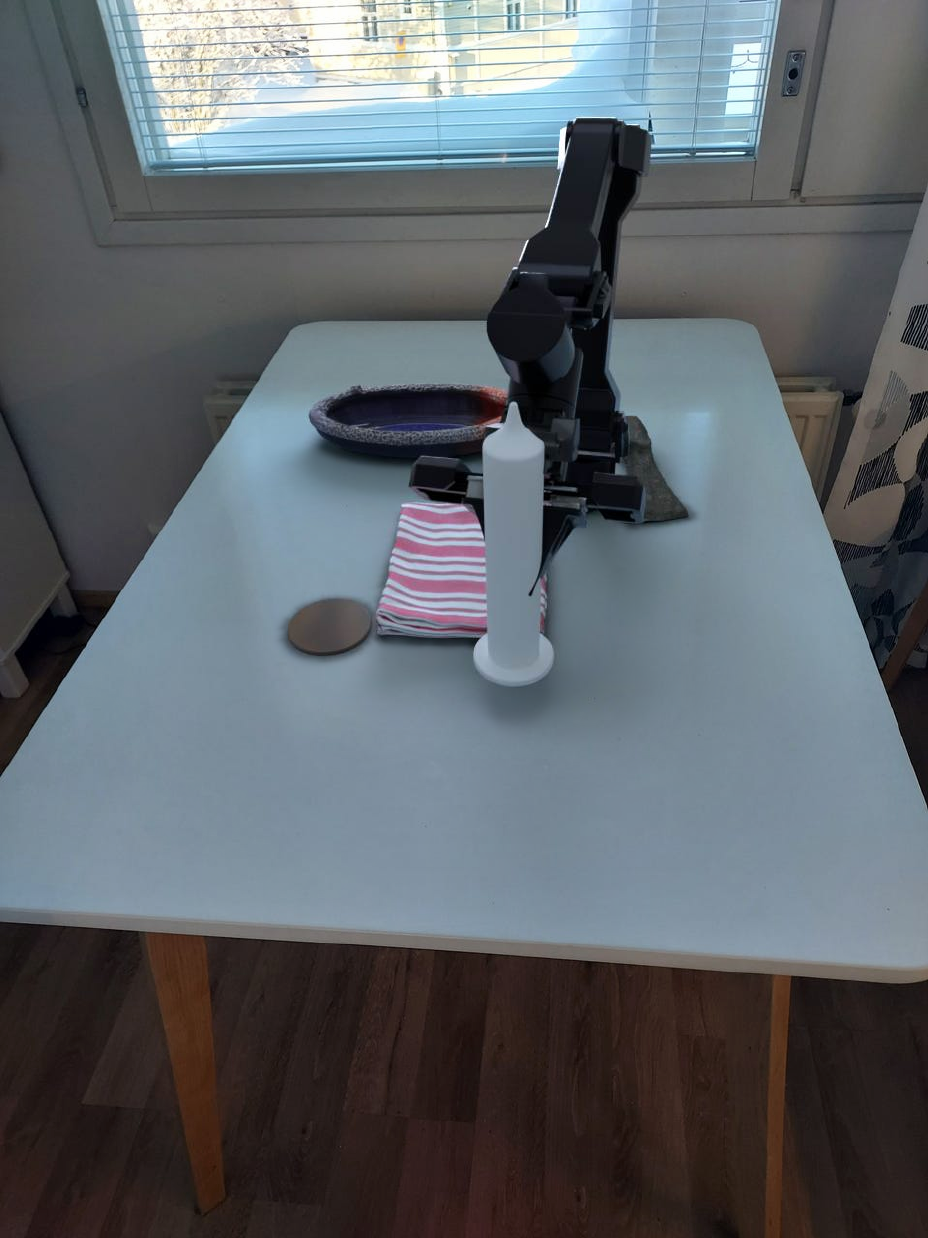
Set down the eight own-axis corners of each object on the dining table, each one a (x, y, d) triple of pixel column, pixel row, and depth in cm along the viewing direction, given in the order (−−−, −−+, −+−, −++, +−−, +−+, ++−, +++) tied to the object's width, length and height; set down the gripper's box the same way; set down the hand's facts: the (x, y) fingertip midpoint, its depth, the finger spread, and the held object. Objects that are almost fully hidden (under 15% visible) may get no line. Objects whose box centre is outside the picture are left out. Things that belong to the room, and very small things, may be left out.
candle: (463, 641, 84) (451, 388, 67) (537, 624, 85) (543, 372, 68) (487, 695, 79) (480, 435, 62) (565, 676, 80) (579, 417, 63)
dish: (326, 409, 131) (321, 376, 127) (545, 410, 127) (545, 376, 124) (299, 466, 119) (293, 431, 116) (540, 469, 115) (540, 433, 112)
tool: (688, 528, 106) (693, 507, 104) (621, 530, 105) (626, 508, 103) (648, 425, 121) (653, 404, 118) (590, 426, 120) (593, 405, 118)
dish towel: (373, 643, 91) (369, 616, 89) (403, 512, 109) (400, 487, 107) (546, 646, 90) (547, 618, 88) (548, 512, 108) (548, 486, 105)
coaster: (358, 593, 98) (357, 590, 98) (382, 640, 92) (381, 637, 92) (280, 614, 96) (279, 611, 96) (299, 664, 90) (298, 661, 89)
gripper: (403, 363, 70) (372, 566, 70) (652, 381, 66) (621, 598, 65) (441, 408, 81) (414, 584, 80) (656, 426, 77) (630, 612, 76)
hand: (512, 594), depth 75 cm, fingers closed on candle, 2 cm apart
